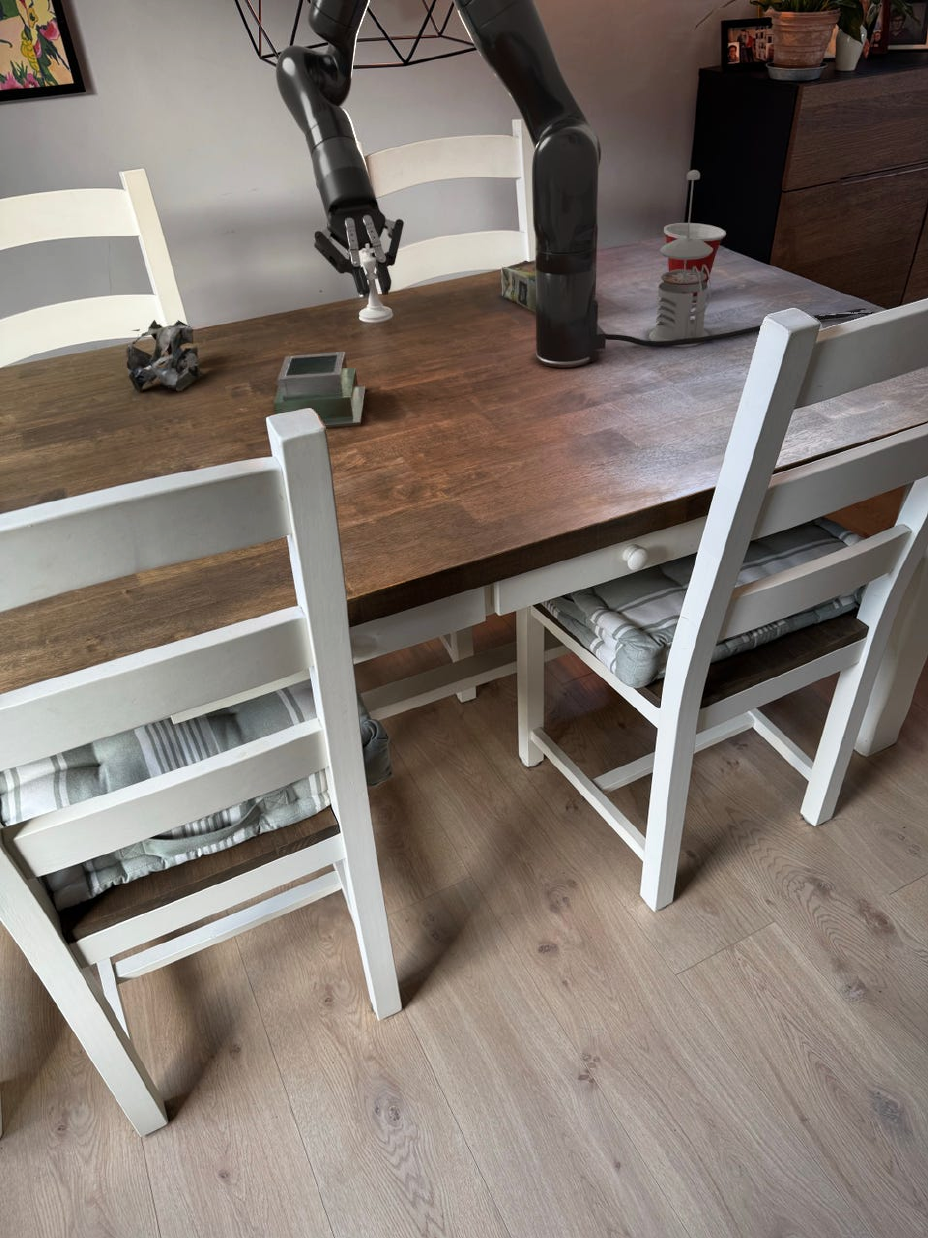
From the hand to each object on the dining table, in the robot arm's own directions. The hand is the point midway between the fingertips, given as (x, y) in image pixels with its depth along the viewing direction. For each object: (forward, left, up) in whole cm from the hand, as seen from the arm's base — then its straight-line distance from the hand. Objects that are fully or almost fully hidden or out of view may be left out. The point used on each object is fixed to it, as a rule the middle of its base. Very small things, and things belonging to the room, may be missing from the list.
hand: (376, 293), depth 120 cm
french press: (-48, -16, -16) cm, 53 cm away
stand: (+10, +2, -16) cm, 19 cm away
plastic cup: (-54, -36, -16) cm, 67 cm away
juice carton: (-28, -38, -16) cm, 50 cm away
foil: (+37, -15, -16) cm, 43 cm away
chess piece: (+1, -2, -4) cm, 5 cm away
